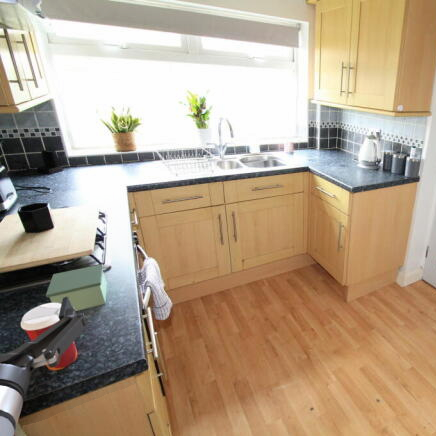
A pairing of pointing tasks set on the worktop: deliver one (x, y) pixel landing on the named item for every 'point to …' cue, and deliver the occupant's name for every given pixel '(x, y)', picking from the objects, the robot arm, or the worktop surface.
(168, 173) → the worktop surface
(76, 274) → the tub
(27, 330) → the paper cup
